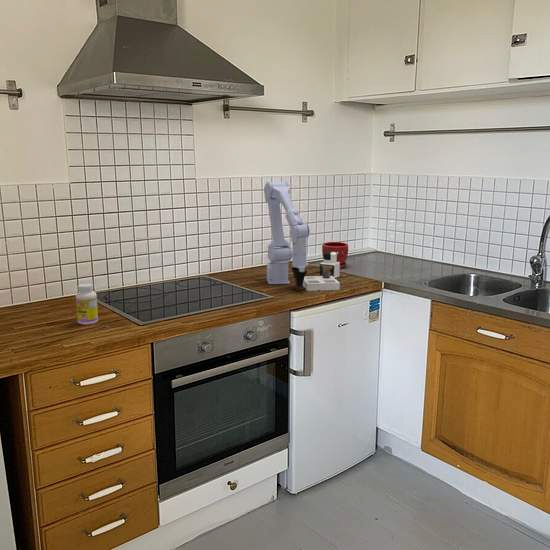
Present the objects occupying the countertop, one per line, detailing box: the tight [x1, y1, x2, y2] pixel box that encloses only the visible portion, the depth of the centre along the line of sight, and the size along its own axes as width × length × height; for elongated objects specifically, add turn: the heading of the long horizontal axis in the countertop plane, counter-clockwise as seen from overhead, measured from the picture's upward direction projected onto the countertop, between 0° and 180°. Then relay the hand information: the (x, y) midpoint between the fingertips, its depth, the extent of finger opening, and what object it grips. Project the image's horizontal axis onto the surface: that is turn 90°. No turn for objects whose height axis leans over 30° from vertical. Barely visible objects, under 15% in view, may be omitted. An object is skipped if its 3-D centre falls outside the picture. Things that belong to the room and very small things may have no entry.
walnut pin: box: [294, 277, 303, 292], centre depth 232 cm, size 3×3×7 cm
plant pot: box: [321, 241, 349, 269], centre depth 280 cm, size 13×13×12 cm
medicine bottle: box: [319, 252, 341, 279], centre depth 255 cm, size 7×7×12 cm
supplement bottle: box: [75, 283, 99, 326], centre depth 185 cm, size 7×7×13 cm
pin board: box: [302, 266, 341, 292], centre depth 238 cm, size 14×14×8 cm
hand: (298, 285), depth 233 cm, fingers closed on walnut pin, 3 cm apart
